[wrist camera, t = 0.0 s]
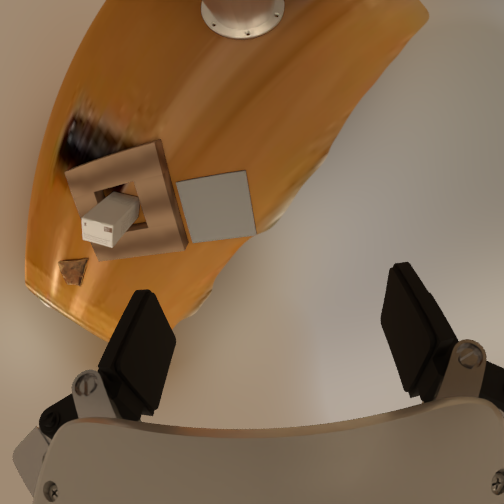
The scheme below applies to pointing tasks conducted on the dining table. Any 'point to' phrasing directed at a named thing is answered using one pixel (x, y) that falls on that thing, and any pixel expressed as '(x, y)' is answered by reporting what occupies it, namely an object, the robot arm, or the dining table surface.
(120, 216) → the skincare box
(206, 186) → the grey mat
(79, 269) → the shard
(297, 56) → the dining table surface
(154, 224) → the walnut holder
